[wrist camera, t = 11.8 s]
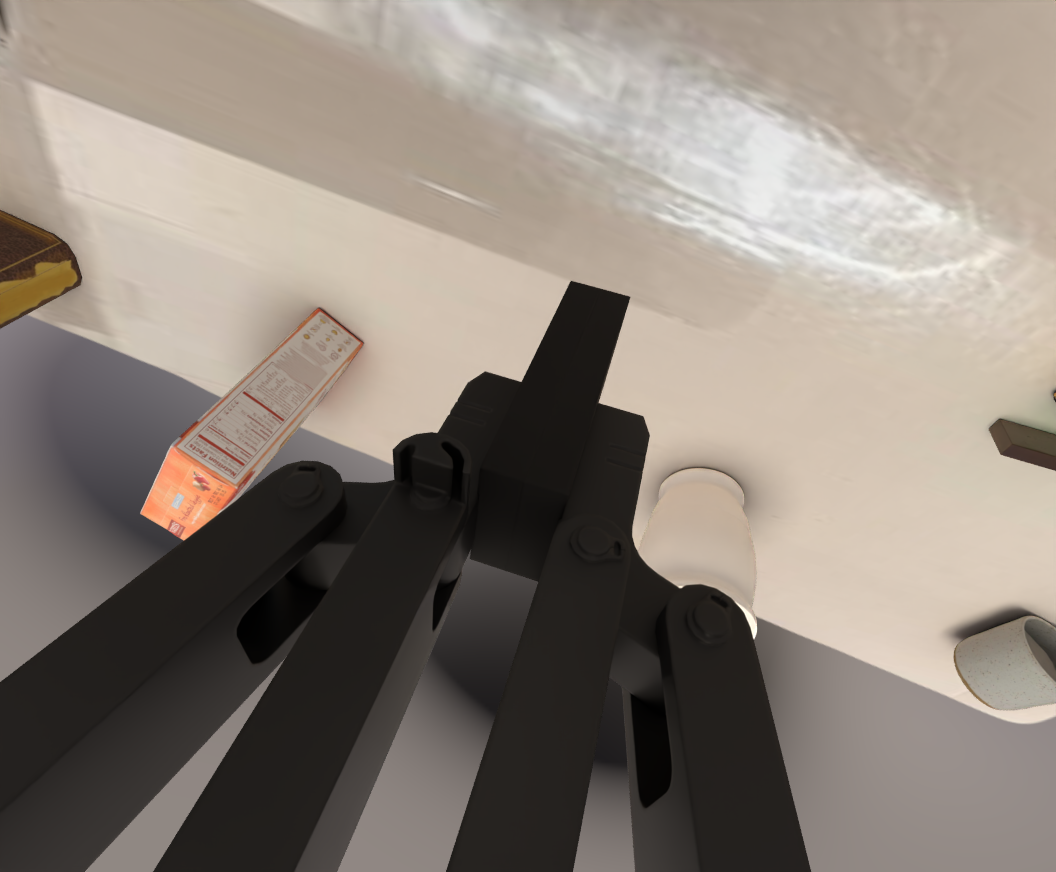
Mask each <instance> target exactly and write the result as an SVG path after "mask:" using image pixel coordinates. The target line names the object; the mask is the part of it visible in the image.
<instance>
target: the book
mask: <svg viewBox="0 0 1056 872" xmlns="http://www.w3.org/2000/svg"><path fill="white" fill-rule="evenodd" d="M81 278H82V277H81V274H80V271H79V268H78V264H77V261H76V258H75V256H74V254H73V253H72V251H71V250H70V248H69V246H68V245H67V244H66V243H65V242H63V241H62V240H61V239H59V238H58V237H57V236H55V235H54V234H51V233H49V232H47V231H45V230H43V229H40V228H38V227H36V226H34V225H32V224H29V223H27V222H25V221H23V220H21V219H18V218H16V217H14V216H12V215H10V214H7V213H5V212H3V211H1V210H0V328H2V327H4V326H6V325H8V324H10V323H11V322H13V321H15V320H17V319H19V318H21V317H22V316H24V315H26V314H28V313H30V312H32V311H33V310H35V309H37V308H39V307H41V306H43V305H44V304H46V303H48V302H50V301H52V300H54V299H56V298H57V297H59V296H61V295H63V294H65V293H67V292H68V291H70V290H72V289H74V288H76V287H78V286H79V285H80V283H81Z"/></svg>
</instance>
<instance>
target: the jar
mask: <svg viewBox="0 0 1056 872" xmlns="http://www.w3.org/2000/svg"><path fill="white" fill-rule="evenodd" d="M743 506H744V493H743V491H742V489H741V487H740V486H739V484H738V483H737V482H736V481H735V480H733V479H732V478H731V477H729V476H727V475H726V474H724V473H721V472H718V471H715V470H711V469H704V468H692V469H686V470H682V471H679V472H676V473H674V474H672V475H671V476H669V477H668V478H667V479H666V480H665V481H664V482H663V483H662V485H661V487H660V489H659V502H658V503H657V505H656V506H655V508H654V510H653V512H652V514H651V516H650V519H649V522H648V525H647V527H646V530H645V532H644V534H643V537H642V540H641V543H640V547H639V551H638V553H639V555H640V557H641V558H642V559H643V560H644V562H645V563H646V564H647V565H648V566H649V567H650V568H652V569H653V570H654V571H655V572H657V573H658V574H659V575H661V576H662V577H664V578H665V579H667V580H668V581H670V582H671V583H673V584H674V585H676V586H677V587H679V588H682V587H683V586H685V585H694V584H703V585H706V586H710V587H713V588H717V589H718V590H720V591H721V592H723V593H725V594H726V595H728V596H729V597H731V598H732V599H733V600H734V601H735V602H736V604H737V605H738V606H739V607H740V608H741V609H742V611H743V612H744V614H745V616H746V618H747V621H748V623H749V625H750V627H751V631H752V635H753V639H754V638H755V636H756V633H757V622H756V617H755V614H754V612H753V610H752V604H753V600H754V595H755V588H756V574H757V571H756V558H755V551H754V547H753V543H752V540H751V533H750V528H749V524H748V521H747V518H746V515H745V513H744V511H743V509H742V508H743Z"/></svg>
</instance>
